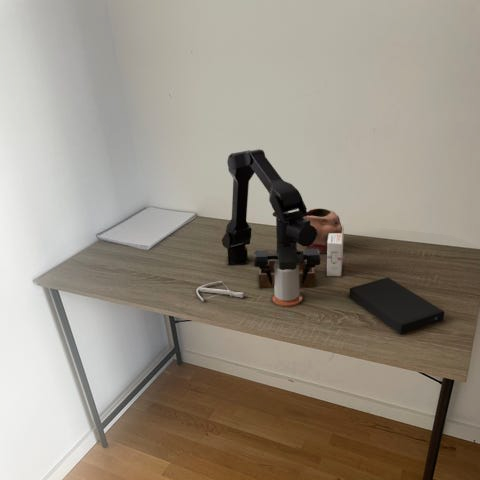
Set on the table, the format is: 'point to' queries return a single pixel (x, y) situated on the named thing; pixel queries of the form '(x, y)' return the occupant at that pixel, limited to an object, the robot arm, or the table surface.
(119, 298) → the table surface
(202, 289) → the crossbow
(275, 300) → the coaster
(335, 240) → the ink cartridge box
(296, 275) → the can
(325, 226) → the decorative planter
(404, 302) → the external hard drive
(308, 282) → the wooden tray
